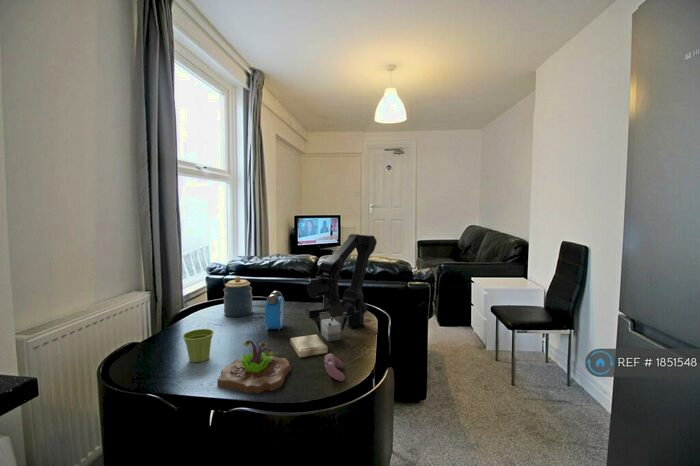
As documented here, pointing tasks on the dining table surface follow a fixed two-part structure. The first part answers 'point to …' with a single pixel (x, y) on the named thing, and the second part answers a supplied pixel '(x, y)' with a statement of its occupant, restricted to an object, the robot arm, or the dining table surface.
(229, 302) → the canister
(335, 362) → the video game controller
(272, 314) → the alarm clock
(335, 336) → the box
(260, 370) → the plant
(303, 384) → the dining table surface
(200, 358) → the plant pot
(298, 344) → the beige tray
